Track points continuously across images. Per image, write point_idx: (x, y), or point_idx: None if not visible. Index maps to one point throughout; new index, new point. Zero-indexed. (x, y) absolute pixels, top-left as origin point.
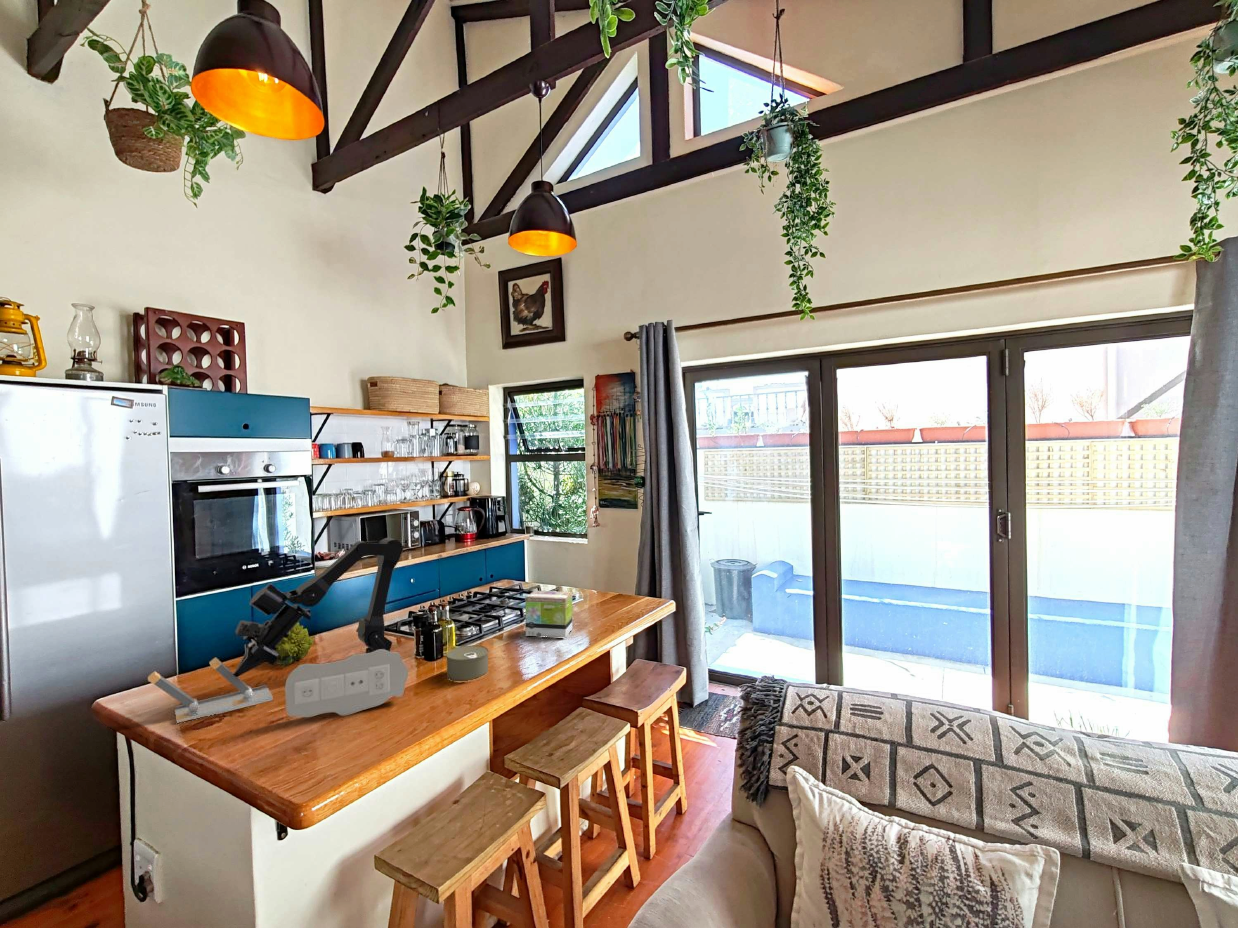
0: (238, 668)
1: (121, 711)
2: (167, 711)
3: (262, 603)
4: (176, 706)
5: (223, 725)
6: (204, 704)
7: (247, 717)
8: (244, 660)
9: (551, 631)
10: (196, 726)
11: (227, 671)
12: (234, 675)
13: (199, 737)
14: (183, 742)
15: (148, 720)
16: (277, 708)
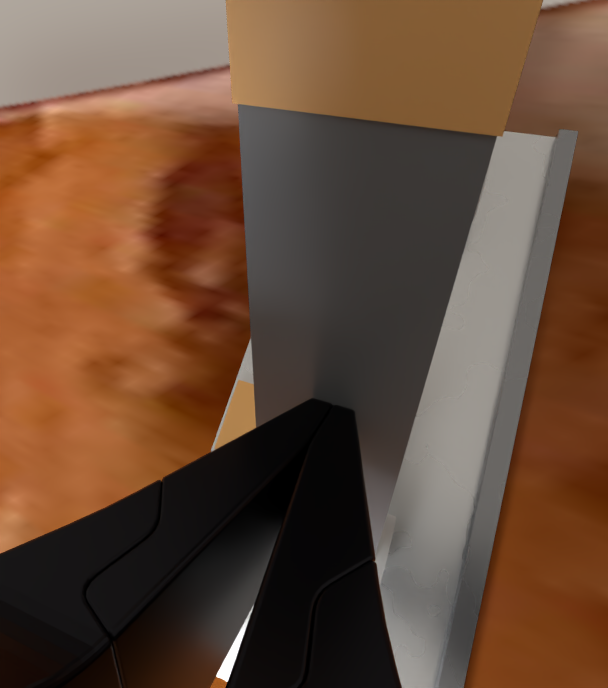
0: (253, 437)
1: None
2: None
3: None
4: (568, 139)
5: (88, 264)
6: (458, 273)
7: (60, 379)
8: (96, 523)
9: None
10: (207, 182)
11: (257, 274)
12: (299, 398)
13: (71, 159)
14: (89, 108)
15: (545, 48)
16: (2, 552)
